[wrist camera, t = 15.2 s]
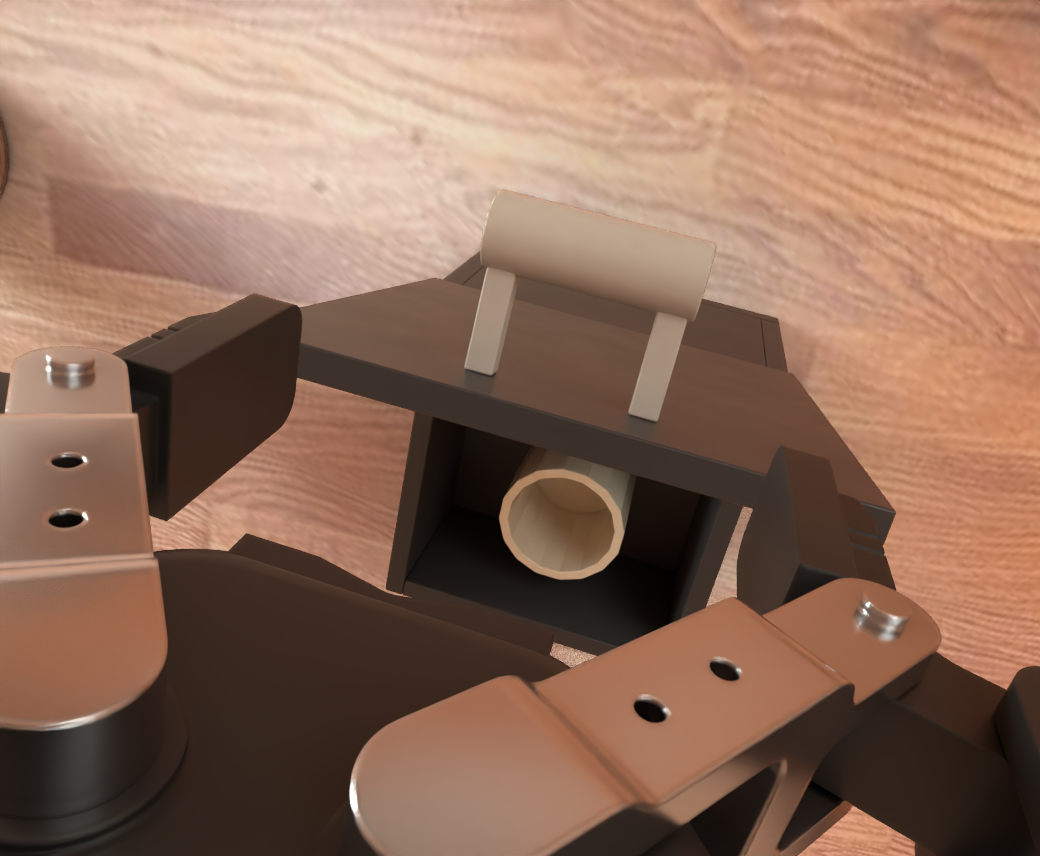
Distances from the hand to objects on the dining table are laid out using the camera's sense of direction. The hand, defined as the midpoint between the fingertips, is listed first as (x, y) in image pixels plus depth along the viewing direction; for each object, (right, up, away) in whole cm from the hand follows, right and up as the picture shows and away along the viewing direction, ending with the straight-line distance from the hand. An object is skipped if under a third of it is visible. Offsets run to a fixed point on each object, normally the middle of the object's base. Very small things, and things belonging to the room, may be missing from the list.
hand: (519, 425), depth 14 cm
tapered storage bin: (+4, 0, +32) cm, 32 cm away
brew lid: (+2, +1, +12) cm, 13 cm away
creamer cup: (+3, -2, +32) cm, 32 cm away
